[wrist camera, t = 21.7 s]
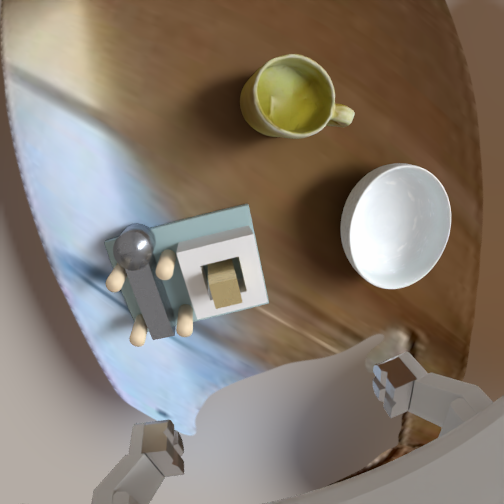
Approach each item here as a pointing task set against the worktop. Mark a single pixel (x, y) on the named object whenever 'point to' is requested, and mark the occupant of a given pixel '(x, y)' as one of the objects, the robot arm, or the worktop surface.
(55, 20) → the worktop surface
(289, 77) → the mug
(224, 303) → the wooden bar
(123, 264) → the grey lever handle
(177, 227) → the jig plate
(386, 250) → the cereal bowl
